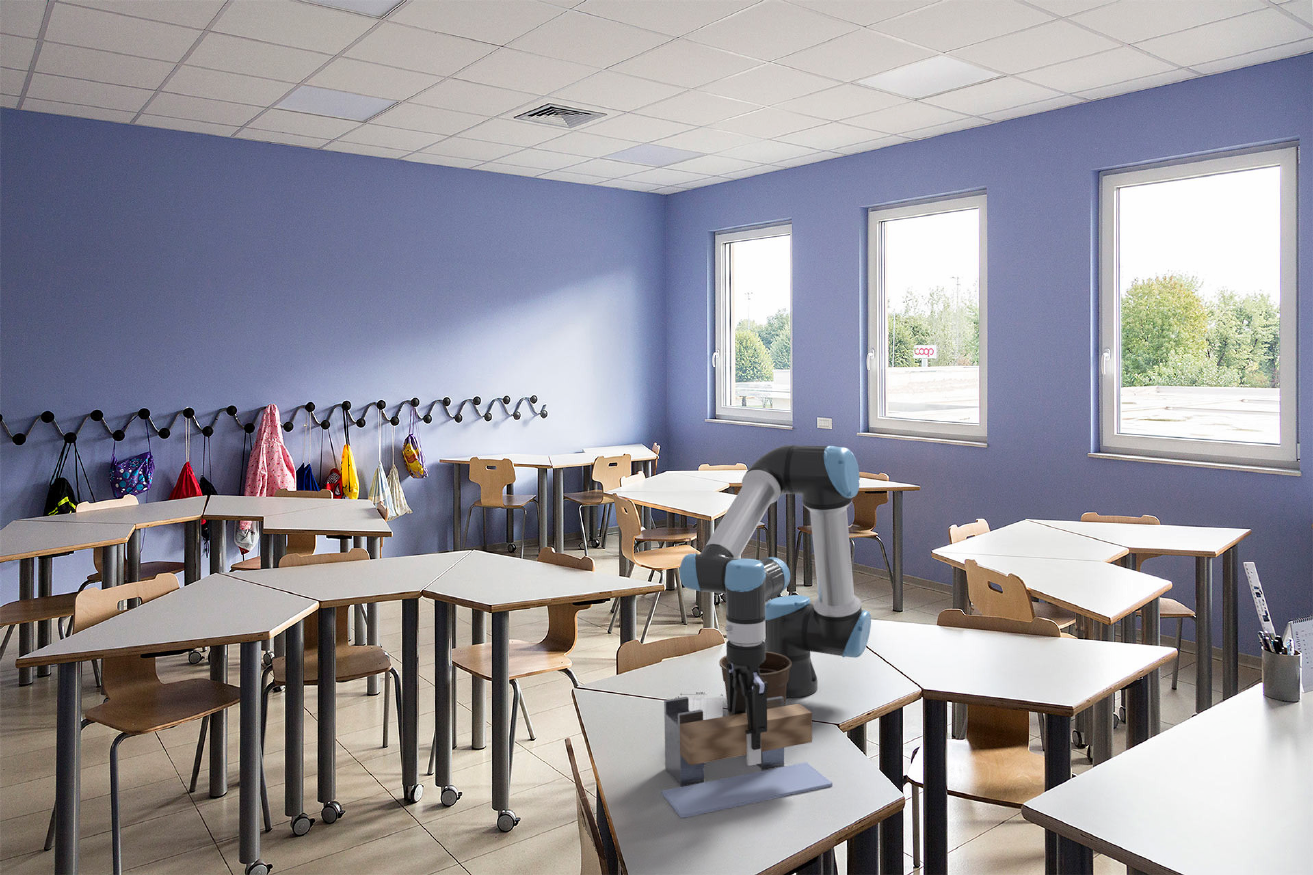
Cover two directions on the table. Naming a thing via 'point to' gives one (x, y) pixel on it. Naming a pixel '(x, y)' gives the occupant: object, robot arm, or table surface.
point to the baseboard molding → (706, 706)
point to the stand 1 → (674, 762)
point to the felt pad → (744, 789)
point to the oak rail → (743, 734)
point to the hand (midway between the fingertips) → (747, 757)
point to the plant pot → (768, 674)
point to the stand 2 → (775, 756)
